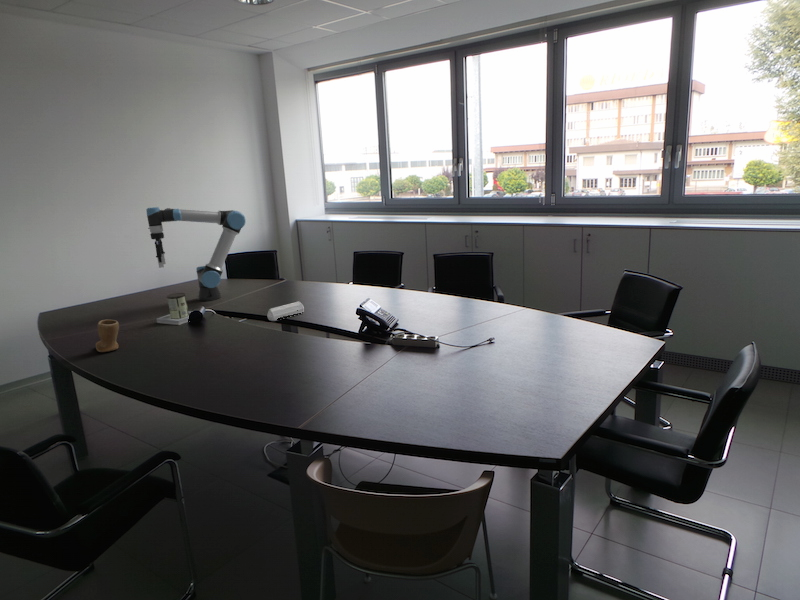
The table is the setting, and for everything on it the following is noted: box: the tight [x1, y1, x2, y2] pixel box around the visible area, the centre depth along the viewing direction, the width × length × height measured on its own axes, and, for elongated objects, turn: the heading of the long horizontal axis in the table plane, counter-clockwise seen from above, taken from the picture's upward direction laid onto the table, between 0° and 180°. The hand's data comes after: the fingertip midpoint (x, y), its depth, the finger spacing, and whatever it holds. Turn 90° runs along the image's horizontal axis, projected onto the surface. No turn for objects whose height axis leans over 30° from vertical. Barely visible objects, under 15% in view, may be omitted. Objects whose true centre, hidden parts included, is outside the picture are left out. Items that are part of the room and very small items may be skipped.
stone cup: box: [95, 319, 120, 353], centre depth 264 cm, size 15×12×15 cm
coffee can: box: [166, 292, 189, 320], centre depth 313 cm, size 10×10×14 cm
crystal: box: [266, 301, 305, 322], centre depth 306 cm, size 7×7×24 cm
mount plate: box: [156, 310, 192, 326], centre depth 314 cm, size 18×18×2 cm
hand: (162, 265), depth 334 cm, fingers open, 13 cm apart
